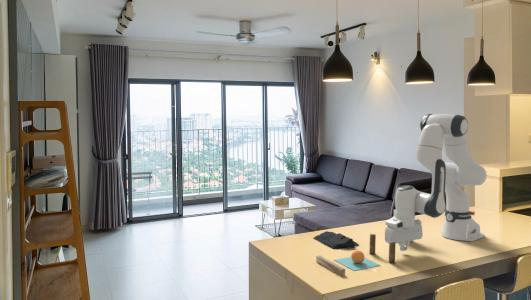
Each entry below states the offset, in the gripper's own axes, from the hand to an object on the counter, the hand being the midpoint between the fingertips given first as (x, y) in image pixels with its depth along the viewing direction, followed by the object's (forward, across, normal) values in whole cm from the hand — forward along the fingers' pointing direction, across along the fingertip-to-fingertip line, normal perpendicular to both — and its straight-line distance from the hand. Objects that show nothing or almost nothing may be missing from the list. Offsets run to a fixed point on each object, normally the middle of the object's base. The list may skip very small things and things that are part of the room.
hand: (403, 250), depth 193 cm
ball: (-1, +27, 0) cm, 27 cm away
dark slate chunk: (+2, +18, -29) cm, 34 cm away
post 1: (+2, +13, -6) cm, 15 cm away
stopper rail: (+2, +41, 0) cm, 41 cm away
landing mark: (+2, +27, 0) cm, 27 cm away
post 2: (+2, +13, +6) cm, 15 cm away
